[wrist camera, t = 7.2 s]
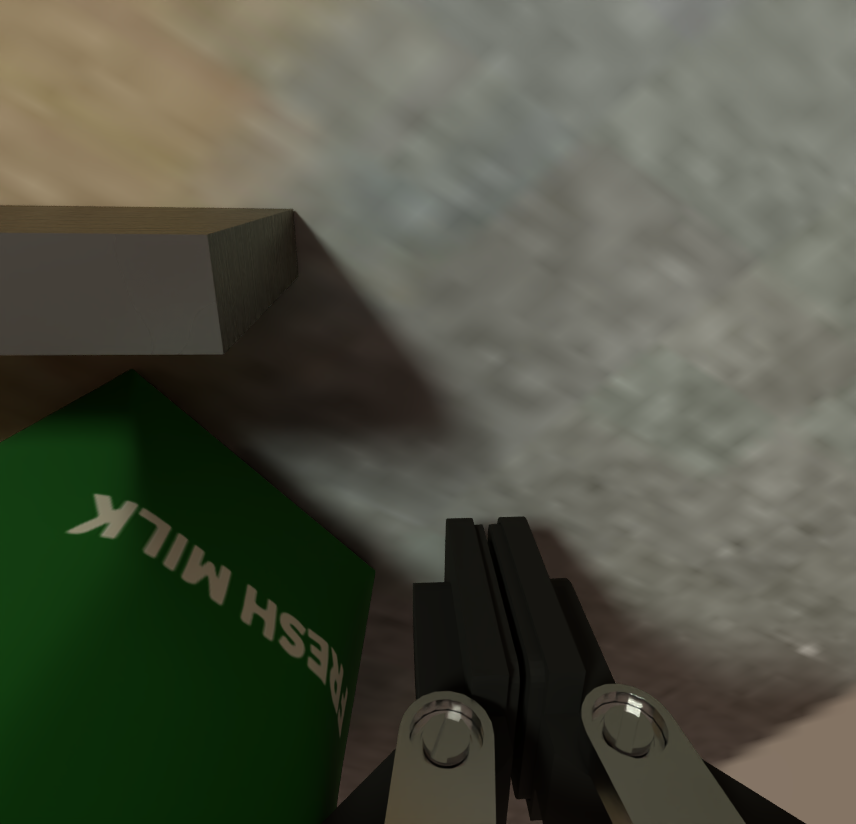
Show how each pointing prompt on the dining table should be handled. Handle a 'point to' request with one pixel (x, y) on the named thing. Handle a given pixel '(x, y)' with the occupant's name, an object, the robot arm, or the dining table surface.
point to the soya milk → (166, 626)
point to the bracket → (138, 277)
